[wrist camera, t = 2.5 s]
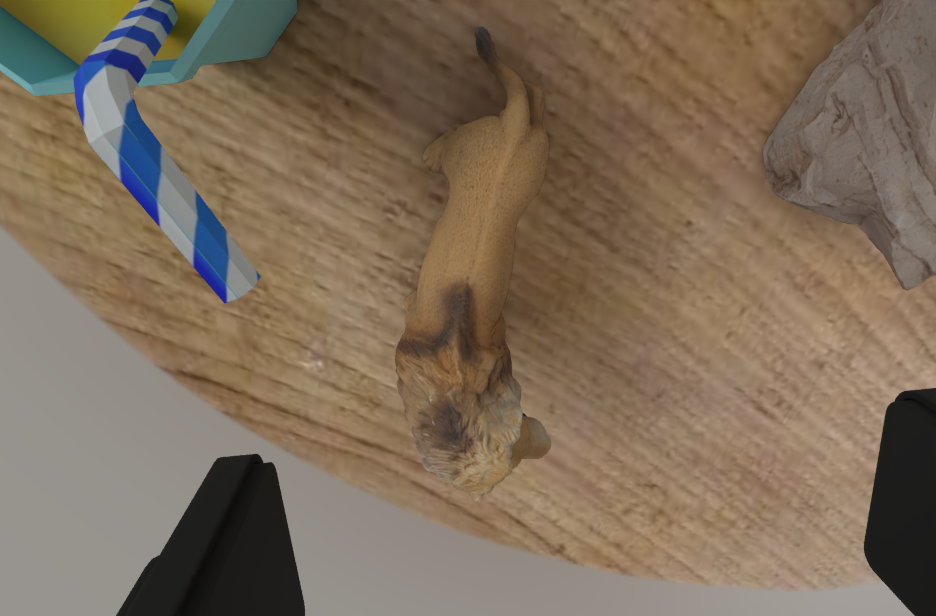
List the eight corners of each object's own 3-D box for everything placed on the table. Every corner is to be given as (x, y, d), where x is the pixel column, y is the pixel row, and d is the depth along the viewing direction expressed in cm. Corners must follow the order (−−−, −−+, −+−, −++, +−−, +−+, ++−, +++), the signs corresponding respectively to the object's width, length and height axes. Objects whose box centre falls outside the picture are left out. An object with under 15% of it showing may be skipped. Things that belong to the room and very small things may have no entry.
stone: (841, 296, 27) (1176, 226, 20) (762, 327, 22) (1195, 245, 14) (748, -19, 28) (1036, -196, 21) (648, -70, 23) (998, -341, 15)
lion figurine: (519, 390, 28) (563, 521, 19) (399, 389, 27) (389, 523, 19) (546, 31, 23) (619, -6, 14) (401, 24, 22) (389, -19, 14)
